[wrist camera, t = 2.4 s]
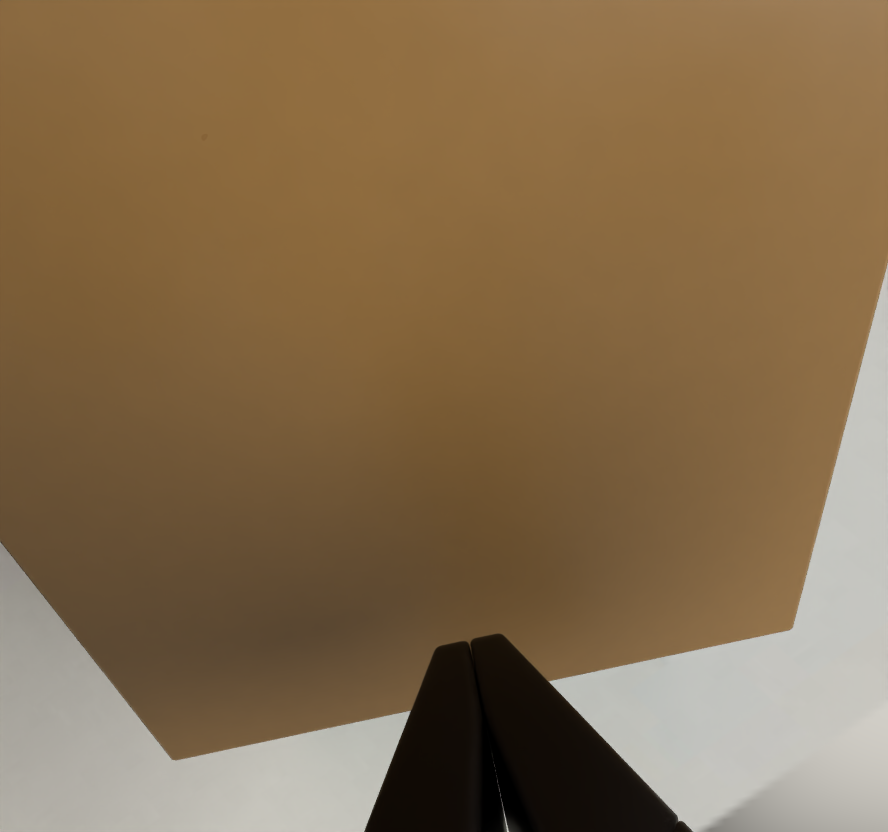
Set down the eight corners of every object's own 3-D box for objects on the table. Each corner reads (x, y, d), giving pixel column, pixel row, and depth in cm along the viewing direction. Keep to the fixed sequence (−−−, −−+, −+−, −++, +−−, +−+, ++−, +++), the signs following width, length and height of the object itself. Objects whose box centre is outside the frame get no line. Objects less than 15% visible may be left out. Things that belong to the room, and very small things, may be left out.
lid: (-625, -382, 5) (-763, -417, 4) (1053, -675, 5) (1159, -751, 4) (178, 722, 14) (171, 763, 13) (772, 596, 14) (793, 631, 13)
